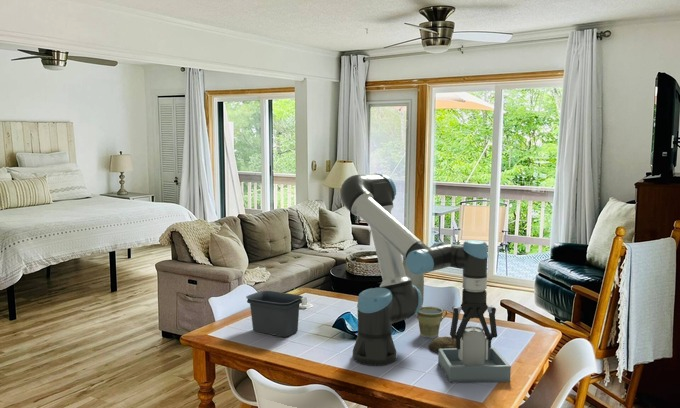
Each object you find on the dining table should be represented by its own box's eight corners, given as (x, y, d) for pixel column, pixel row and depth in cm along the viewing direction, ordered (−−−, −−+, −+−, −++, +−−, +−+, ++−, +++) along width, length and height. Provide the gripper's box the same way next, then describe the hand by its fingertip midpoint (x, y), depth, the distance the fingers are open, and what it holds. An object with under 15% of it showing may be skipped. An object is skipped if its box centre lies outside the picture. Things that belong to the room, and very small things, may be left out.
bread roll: (424, 348, 201) (424, 335, 200) (447, 341, 208) (447, 328, 208) (450, 359, 191) (450, 345, 190) (474, 351, 198) (474, 338, 197)
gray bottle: (409, 306, 252) (410, 246, 249) (427, 311, 244) (428, 249, 241) (395, 311, 245) (395, 249, 242) (413, 316, 238) (413, 252, 235)
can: (461, 368, 176) (461, 331, 175) (460, 359, 183) (461, 324, 182) (485, 370, 174) (486, 333, 173) (484, 361, 182) (485, 325, 181)
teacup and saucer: (304, 310, 248) (304, 301, 248) (291, 308, 252) (290, 299, 252) (316, 306, 255) (316, 297, 255) (302, 303, 260) (302, 294, 259)
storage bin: (243, 331, 219) (242, 296, 217) (267, 321, 232) (266, 287, 231) (286, 341, 208) (285, 304, 206) (309, 329, 221) (309, 294, 220)
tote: (449, 383, 171) (449, 367, 170) (438, 362, 187) (438, 348, 186) (510, 381, 172) (510, 366, 171) (493, 361, 188) (494, 347, 187)
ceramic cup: (425, 341, 208) (425, 315, 206) (411, 333, 217) (411, 308, 216) (454, 336, 213) (454, 311, 212) (439, 328, 222) (439, 304, 221)
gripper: (445, 292, 172) (444, 363, 175) (509, 291, 173) (507, 362, 175) (440, 286, 180) (439, 354, 182) (501, 285, 180) (500, 353, 183)
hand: (472, 358), depth 179 cm, fingers closed on can, 7 cm apart
